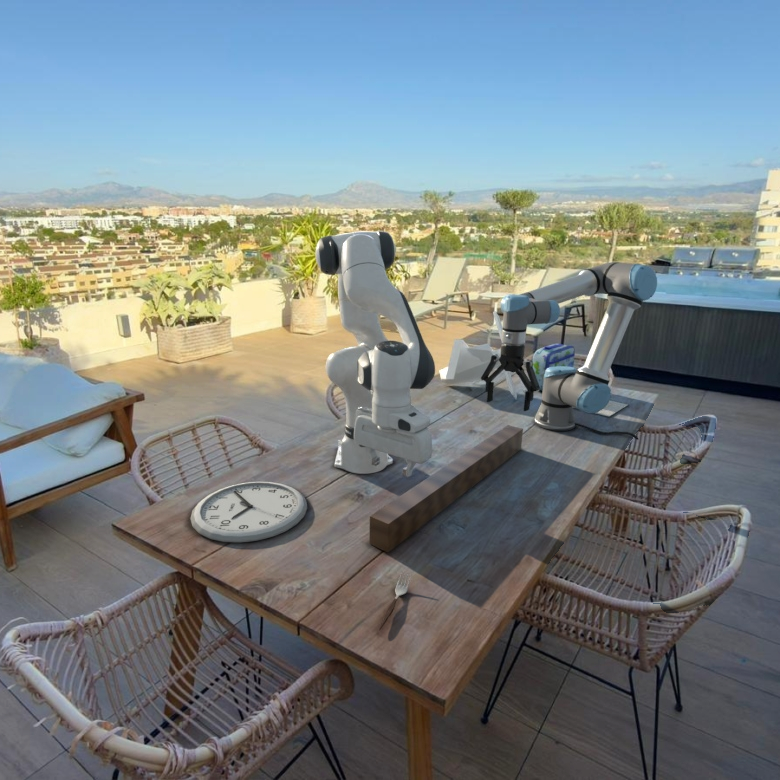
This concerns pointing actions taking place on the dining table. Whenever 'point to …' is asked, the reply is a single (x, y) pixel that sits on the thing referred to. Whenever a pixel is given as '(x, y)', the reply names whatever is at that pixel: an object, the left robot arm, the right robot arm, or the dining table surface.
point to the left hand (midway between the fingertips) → (390, 469)
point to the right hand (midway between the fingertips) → (507, 405)
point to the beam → (441, 489)
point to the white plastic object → (474, 362)
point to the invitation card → (611, 408)
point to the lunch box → (552, 359)
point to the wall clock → (248, 512)
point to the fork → (399, 591)
